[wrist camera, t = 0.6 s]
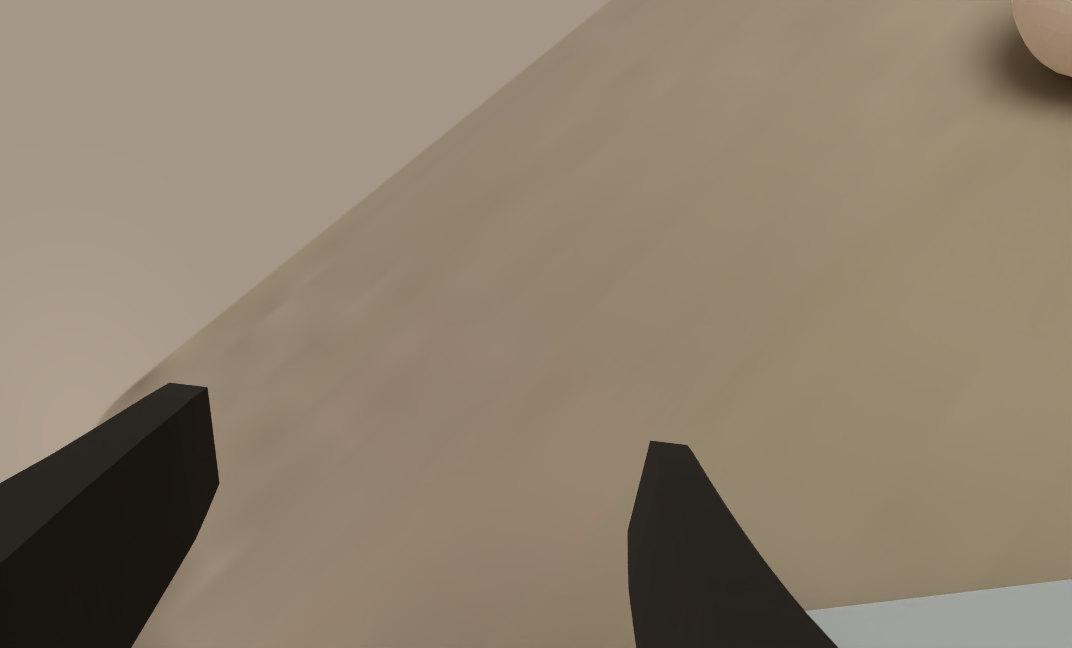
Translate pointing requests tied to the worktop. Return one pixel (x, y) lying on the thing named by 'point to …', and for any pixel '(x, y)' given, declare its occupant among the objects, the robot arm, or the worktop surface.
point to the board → (958, 620)
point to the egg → (1046, 31)
